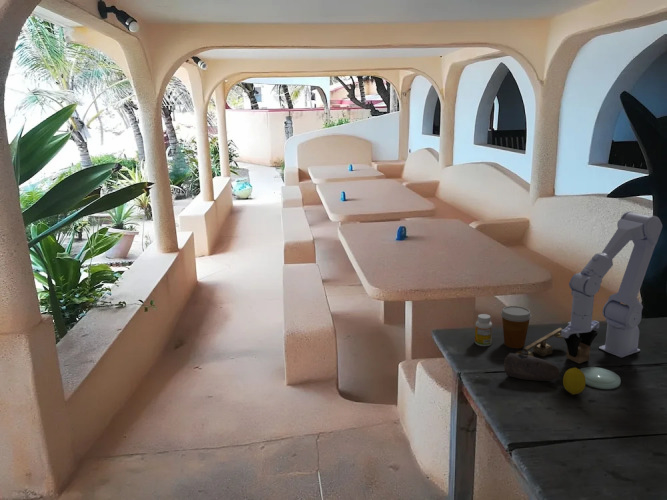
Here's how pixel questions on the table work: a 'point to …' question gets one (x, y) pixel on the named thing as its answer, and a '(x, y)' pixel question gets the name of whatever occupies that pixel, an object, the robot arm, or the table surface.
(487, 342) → the supplement bottle
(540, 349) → the balance
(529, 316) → the disposable coffee cup
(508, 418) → the table surface
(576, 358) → the block
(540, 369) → the perforated stone tool
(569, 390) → the lemon
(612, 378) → the dish
